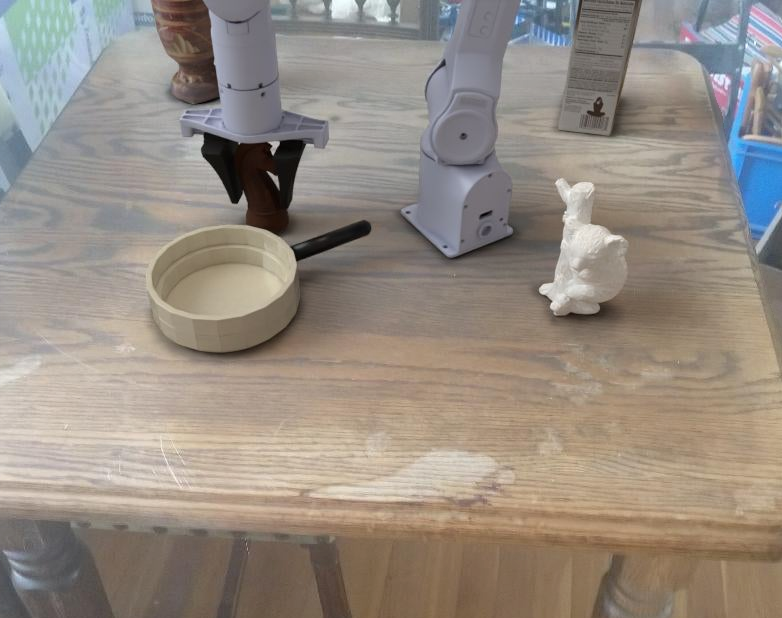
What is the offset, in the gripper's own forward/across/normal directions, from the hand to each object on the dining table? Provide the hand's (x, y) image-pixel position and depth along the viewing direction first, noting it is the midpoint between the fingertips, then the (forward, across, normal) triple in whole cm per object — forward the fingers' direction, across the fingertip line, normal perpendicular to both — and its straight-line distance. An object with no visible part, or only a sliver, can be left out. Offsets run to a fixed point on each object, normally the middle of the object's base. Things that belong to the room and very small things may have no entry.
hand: (262, 201), depth 90 cm
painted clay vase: (+3, +18, -28) cm, 34 cm away
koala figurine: (+3, -32, +7) cm, 33 cm away
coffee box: (+3, -33, -28) cm, 43 cm away
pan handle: (0, -8, +6) cm, 10 cm away
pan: (+3, 0, +14) cm, 14 cm away
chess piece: (+3, 0, 0) cm, 3 cm away
